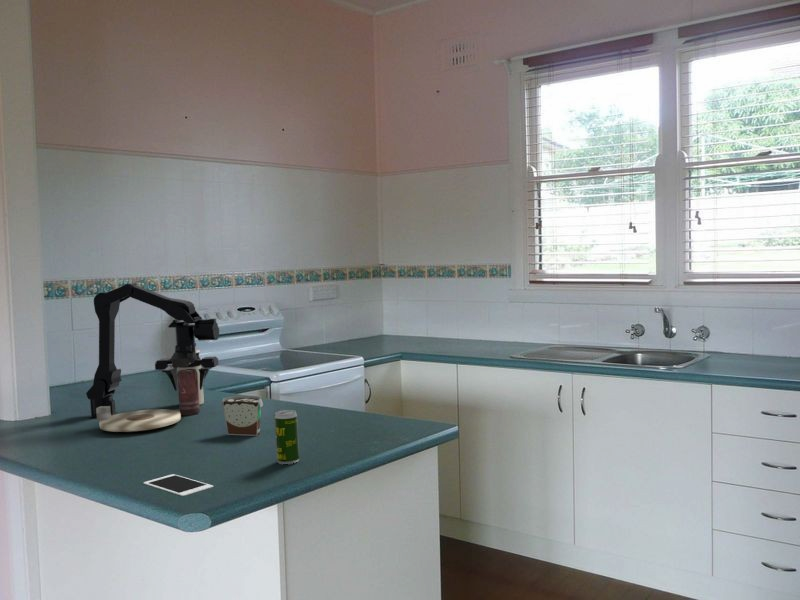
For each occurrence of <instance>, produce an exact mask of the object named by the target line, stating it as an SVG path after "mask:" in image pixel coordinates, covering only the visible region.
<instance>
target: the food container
mask: <svg viewBox="0 0 800 600" xmlns="http://www.w3.org/2000/svg"><path fill="white" fill-rule="evenodd" d="M220 406H221V407H223V415H224V421H225V426H226V432H227V433H226V434H227V436H249V437H250V436H251V437H254V436H255V437H258V436H259V435H260V434H261V409H262V407H263V406H264V403H263V400H262V397H261V396H257V395H236V396H228V397H224V398H222V401H221V403H220Z"/></svg>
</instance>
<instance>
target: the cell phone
mask: <svg viewBox="0 0 800 600" xmlns="http://www.w3.org/2000/svg"><path fill="white" fill-rule="evenodd" d="M143 485H146V486H149V487H151V488H152V487H153V488H154V489H155V488H156V489H158V490H162V491H164V492H169V493H171V494H174V495H177V496H181V497H184V496H188V495H191V494H195V493H198V492H201V491H204V490H205V491H206V490H208V489H212V488H214V485H212V484H209V483H205V482H202V481H198V480H195V479H191V478H188V477H185V476H182V475H178V474H175V473H172V474H168V475H165V476H162V477H158V478H153V479H151V480H147V481H143Z"/></svg>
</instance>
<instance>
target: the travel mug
mask: <svg viewBox="0 0 800 600" xmlns="http://www.w3.org/2000/svg"><path fill="white" fill-rule="evenodd" d="M195 350H196V356H197V359H196V360H202V358H201V357H200V352H201V350H199V349H195ZM200 368H201V365H198V366H188V367H186V368H183V367H177V368H176V372H177V373H178V371H179V370H184V369H196V371H197V376H198V391H199V406H201V405H203V404H204V403H205V398H204V397H205V395H204V387H203V388H202V390H200V372H199V369H200Z"/></svg>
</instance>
